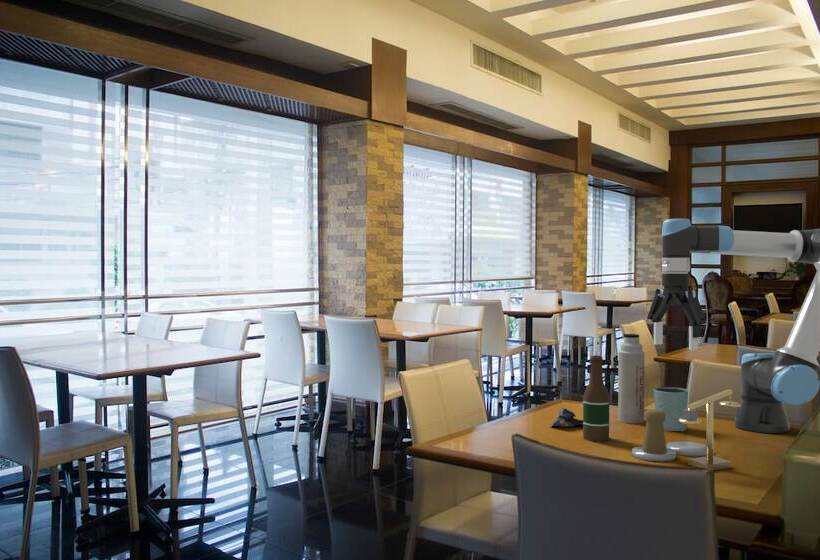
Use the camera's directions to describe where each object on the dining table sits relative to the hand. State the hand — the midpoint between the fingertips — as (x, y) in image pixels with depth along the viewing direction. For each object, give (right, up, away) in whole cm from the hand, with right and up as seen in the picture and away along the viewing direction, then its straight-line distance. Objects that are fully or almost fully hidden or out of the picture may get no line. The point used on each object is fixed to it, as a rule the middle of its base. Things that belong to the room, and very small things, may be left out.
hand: (675, 346), depth 202 cm
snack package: (-27, -27, +18) cm, 42 cm away
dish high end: (-1, -27, -12) cm, 29 cm away
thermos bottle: (-5, -26, +25) cm, 36 cm away
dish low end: (-12, -27, -17) cm, 34 cm away
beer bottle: (-22, -27, +2) cm, 35 cm away
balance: (-1, -27, -26) cm, 38 cm away
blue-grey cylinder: (+4, -27, +14) cm, 30 cm away
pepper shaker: (-12, -26, -17) cm, 33 cm away
